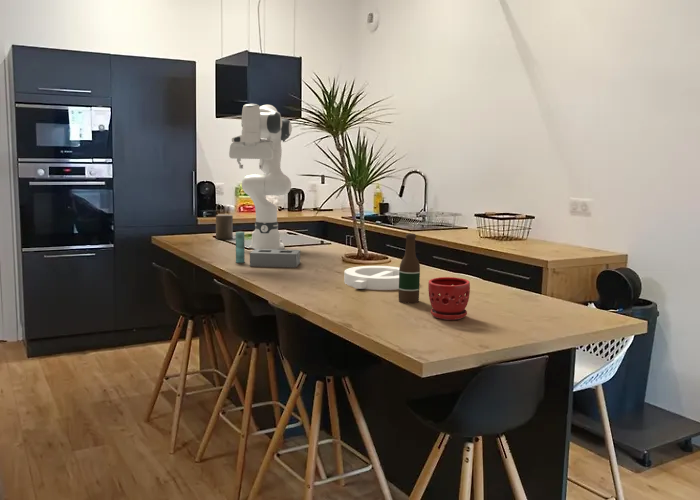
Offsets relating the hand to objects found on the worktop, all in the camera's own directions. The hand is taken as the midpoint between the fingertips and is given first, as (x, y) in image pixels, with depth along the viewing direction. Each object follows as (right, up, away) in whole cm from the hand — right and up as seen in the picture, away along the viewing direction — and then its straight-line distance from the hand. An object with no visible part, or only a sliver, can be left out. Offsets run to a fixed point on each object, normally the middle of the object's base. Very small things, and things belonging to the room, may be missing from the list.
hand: (251, 168), depth 314 cm
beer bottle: (+67, -56, -77) cm, 117 cm away
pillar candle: (-27, -32, +75) cm, 86 cm away
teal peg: (-4, -44, -4) cm, 44 cm away
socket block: (+12, -45, -8) cm, 47 cm away
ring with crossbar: (+58, -52, -45) cm, 90 cm away
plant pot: (+78, -60, -99) cm, 139 cm away
